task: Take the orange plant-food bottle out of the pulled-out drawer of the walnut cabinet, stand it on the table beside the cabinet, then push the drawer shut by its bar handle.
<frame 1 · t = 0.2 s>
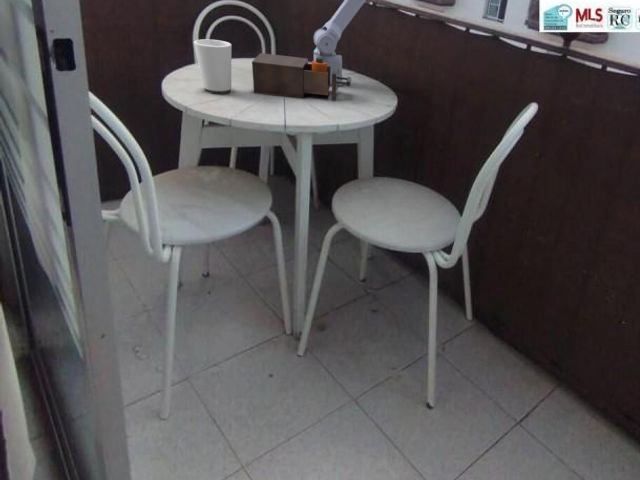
cabinet: (282, 90, 159), on the table
cup: (218, 91, 149), on the table
drawer: (322, 79, 158), point 4 cm above the table, slide at 8.5 cm, touching bottle
bottle: (319, 87, 159), point 2 cm above the table, touching drawer
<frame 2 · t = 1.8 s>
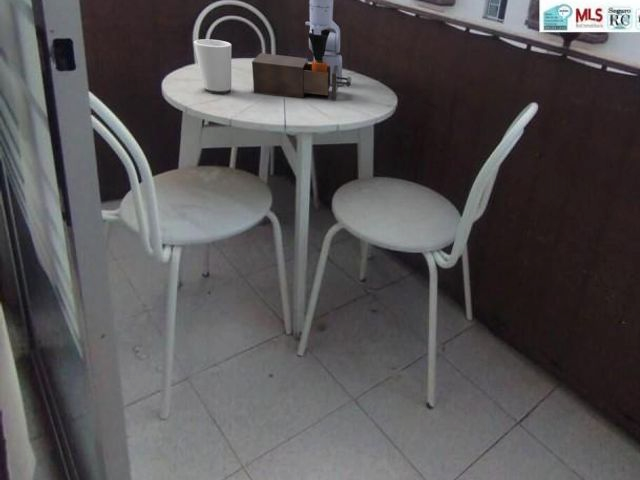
hand: (319, 58, 154), 10 cm above the table, tool pointing down, fingers open, 7 cm apart
nothing on the table moved.
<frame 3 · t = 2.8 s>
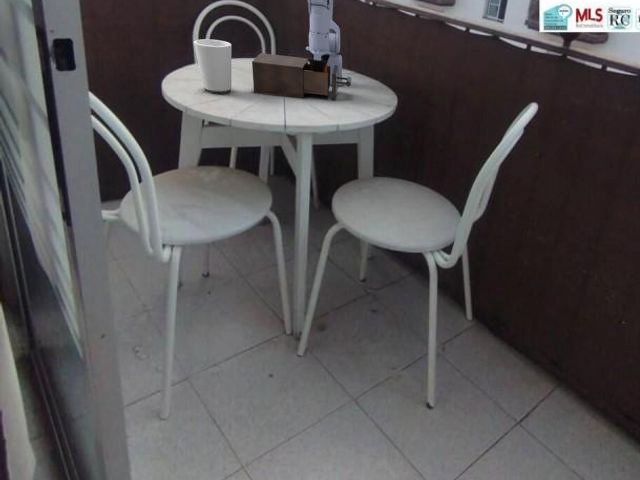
hand: (319, 81, 158), 4 cm above the table, tool pointing down, fingers closed on drawer, 6 cm apart
drawer: (322, 79, 158), point 4 cm above the table, slide at 8.5 cm, touching bottle, gripper
everything else where it was.
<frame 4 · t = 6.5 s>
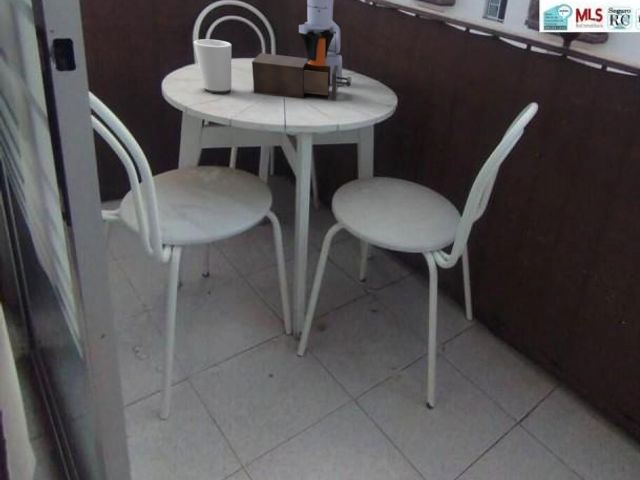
hand: (317, 59, 152), 10 cm above the table, tool pointing down, fingers closed on bottle, 4 cm apart
drawer: (322, 79, 158), point 4 cm above the table, slide at 8.5 cm
bottle: (317, 64, 153), point 9 cm above the table, touching gripper
everything else where it was.
when the fingers open (1 cm above the table, at t = 9.9 s): bottle stays where it is, on the table.
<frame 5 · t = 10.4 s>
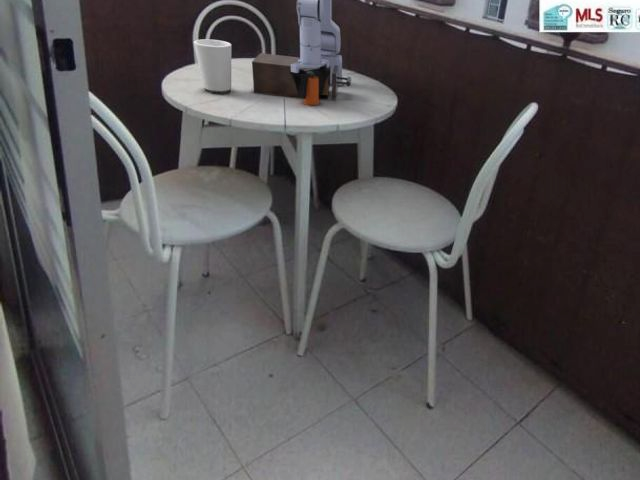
hand: (310, 96, 150), 2 cm above the table, tool pointing down, fingers open, 7 cm apart
drawer: (322, 79, 158), point 4 cm above the table, slide at 8.5 cm, touching gripper
bottle: (310, 103, 151), on the table
everything else where it was.
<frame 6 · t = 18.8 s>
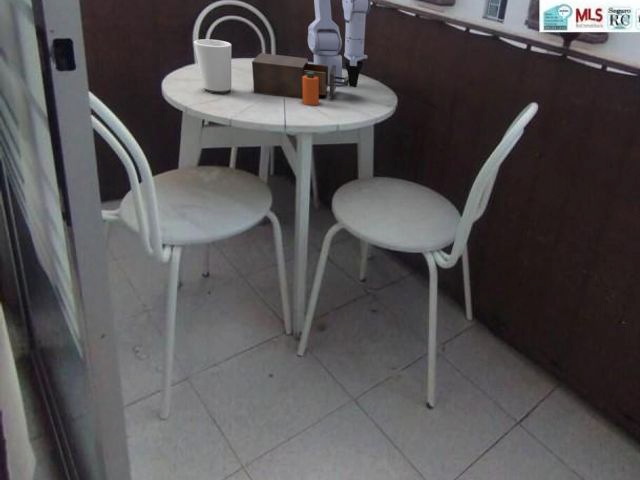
hand: (352, 86, 160), 3 cm above the table, tool pointing down, fingers closed, pressing on drawer
drawer: (319, 79, 158), point 4 cm above the table, slide at 7.8 cm, touching gripper
everything else where it was.
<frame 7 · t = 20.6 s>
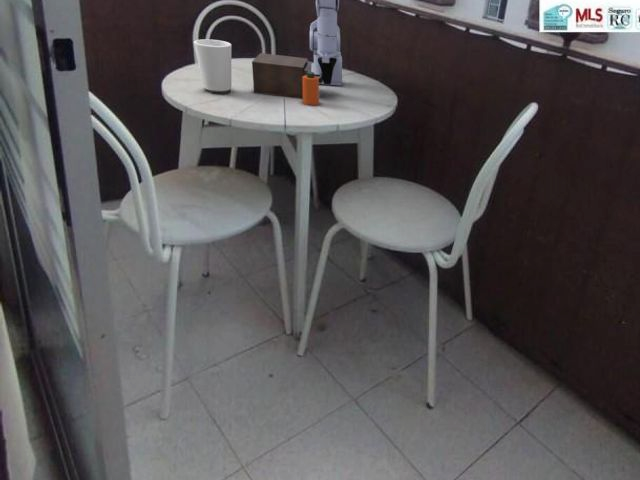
hand: (327, 83, 159), 3 cm above the table, tool pointing down, fingers closed, pressing on drawer
drawer: (294, 76, 157), point 4 cm above the table, slide at 0.0 cm, touching cabinet, gripper
everything else where it was.
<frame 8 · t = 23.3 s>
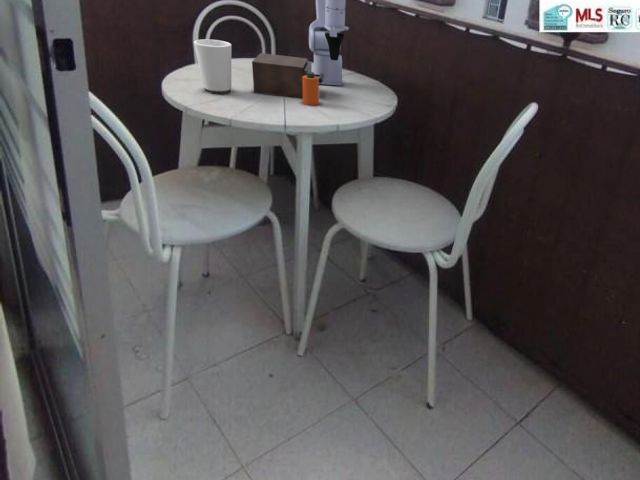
hand: (334, 59, 155), 10 cm above the table, tool pointing down, fingers closed
drawer: (294, 76, 157), point 4 cm above the table, slide at 0.0 cm, touching cabinet
everything else where it was.
at the end: bottle 0.1 cm from the target spot, on the table; bottle tilted 0°; drawer slide at 0.0 cm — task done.
